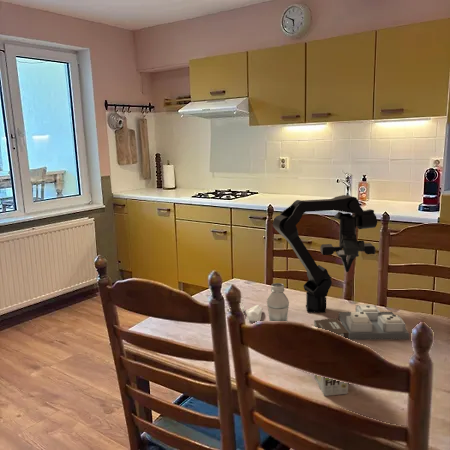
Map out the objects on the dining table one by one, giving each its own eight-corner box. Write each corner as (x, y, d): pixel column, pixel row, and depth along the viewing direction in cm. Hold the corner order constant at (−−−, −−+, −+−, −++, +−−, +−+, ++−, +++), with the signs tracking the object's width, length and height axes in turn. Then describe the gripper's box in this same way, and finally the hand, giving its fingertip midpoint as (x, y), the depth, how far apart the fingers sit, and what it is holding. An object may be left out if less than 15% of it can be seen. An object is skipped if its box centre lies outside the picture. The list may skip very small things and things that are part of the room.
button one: (362, 317, 145) (362, 308, 144) (359, 312, 149) (359, 304, 148) (376, 317, 144) (376, 308, 144) (372, 312, 149) (372, 303, 148)
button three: (386, 329, 136) (386, 319, 135) (382, 323, 140) (382, 314, 139) (400, 329, 135) (400, 319, 135) (396, 323, 140) (396, 314, 139)
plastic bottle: (284, 355, 126) (283, 290, 123) (263, 350, 130) (262, 286, 126) (293, 346, 132) (292, 283, 128) (273, 341, 135) (272, 280, 132)
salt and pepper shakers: (258, 325, 148) (270, 313, 158) (257, 313, 148) (270, 302, 157) (227, 319, 154) (240, 309, 164) (226, 308, 153) (240, 298, 163)
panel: (349, 339, 135) (349, 326, 134) (338, 317, 151) (338, 305, 150) (408, 339, 133) (409, 325, 132) (391, 317, 150) (392, 304, 149)
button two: (353, 326, 136) (353, 316, 136) (350, 320, 140) (350, 311, 140) (367, 326, 136) (368, 316, 135) (364, 320, 140) (364, 311, 140)
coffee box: (349, 394, 106) (350, 333, 103) (323, 396, 106) (323, 335, 103) (336, 374, 115) (337, 317, 112) (313, 376, 115) (313, 319, 112)
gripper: (325, 235, 150) (324, 279, 152) (380, 234, 148) (379, 278, 151) (320, 229, 160) (320, 269, 163) (371, 227, 159) (370, 268, 162)
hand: (347, 271), depth 160 cm, fingers closed
